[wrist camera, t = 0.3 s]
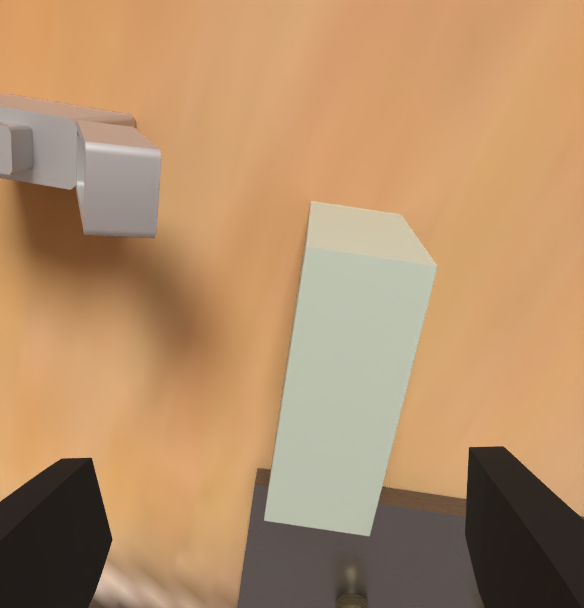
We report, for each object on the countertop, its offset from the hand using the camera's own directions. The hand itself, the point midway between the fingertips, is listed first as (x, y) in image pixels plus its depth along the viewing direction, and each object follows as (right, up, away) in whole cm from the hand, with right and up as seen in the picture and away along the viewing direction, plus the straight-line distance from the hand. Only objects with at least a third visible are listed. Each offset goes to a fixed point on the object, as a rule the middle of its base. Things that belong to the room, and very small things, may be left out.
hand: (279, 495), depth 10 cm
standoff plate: (+6, -12, +14) cm, 19 cm away
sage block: (+2, +3, +9) cm, 10 cm away
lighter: (-5, +9, +7) cm, 13 cm away
